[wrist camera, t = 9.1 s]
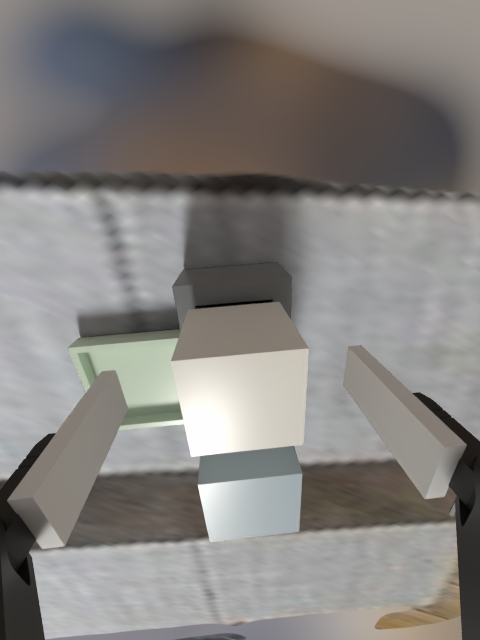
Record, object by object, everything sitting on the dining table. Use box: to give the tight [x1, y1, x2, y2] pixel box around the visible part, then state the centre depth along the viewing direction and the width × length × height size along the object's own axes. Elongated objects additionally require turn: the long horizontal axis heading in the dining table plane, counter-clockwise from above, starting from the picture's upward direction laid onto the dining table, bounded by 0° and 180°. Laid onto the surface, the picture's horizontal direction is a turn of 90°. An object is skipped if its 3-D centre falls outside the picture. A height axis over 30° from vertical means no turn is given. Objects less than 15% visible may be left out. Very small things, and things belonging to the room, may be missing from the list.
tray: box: [68, 329, 184, 431], centre depth 24 cm, size 10×10×2 cm
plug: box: [171, 301, 309, 457], centre depth 17 cm, size 6×6×11 cm
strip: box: [172, 262, 302, 542], centre depth 20 cm, size 8×21×12 cm, turn 4°
